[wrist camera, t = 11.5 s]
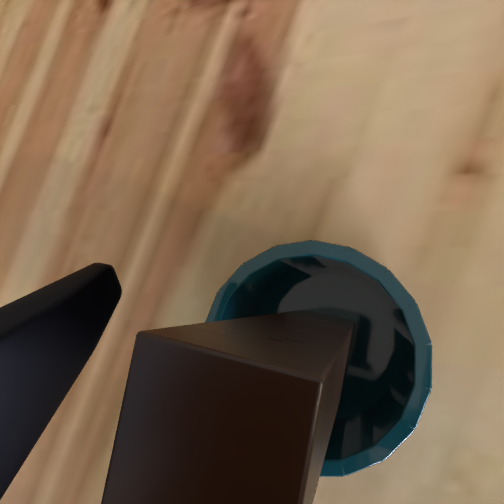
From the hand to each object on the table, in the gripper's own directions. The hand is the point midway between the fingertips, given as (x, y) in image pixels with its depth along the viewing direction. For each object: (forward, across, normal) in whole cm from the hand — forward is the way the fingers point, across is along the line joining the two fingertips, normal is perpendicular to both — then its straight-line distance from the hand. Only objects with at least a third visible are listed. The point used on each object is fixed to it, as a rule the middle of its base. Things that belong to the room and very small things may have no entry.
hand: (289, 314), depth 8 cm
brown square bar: (+5, 0, +7) cm, 9 cm away
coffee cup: (+6, 0, +8) cm, 10 cm away
